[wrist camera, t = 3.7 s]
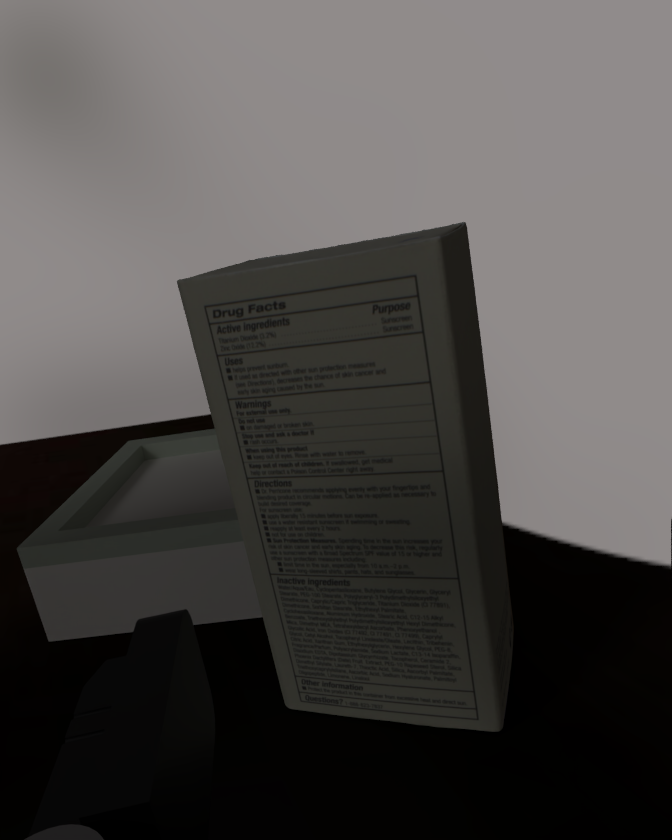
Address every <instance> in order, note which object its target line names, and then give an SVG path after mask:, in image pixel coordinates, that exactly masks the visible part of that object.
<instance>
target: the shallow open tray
mask: <svg viewBox="0 0 672 840" xmlns="http://www.w3.org/2000/svg"><path fill="white" fill-rule="evenodd" d="M17 551H18V554H19V557H20V560H21V562H22V565H23V568H24V571H25V574H26V577H27V580H28V583H29V586H30V589H31V591H32V594H33V597H34V600H35V603H36V606H37V609H38V612H39V615H40V618H41V620H42V623H43V626H44V629H45V632H46V635H47V638H48V641H49V642H50V641H59V640H68V639H76V638H85V637H94V636H102V635H111V634H120V633H128V632H133V631H134V628H135V625H136V622H137V620H138V619H141V618H146V617H151V616H155V615H160V614H165V613H170V612H174V611H179V610H184V609H187V610H188V612H189V614H190V616H191V619H192V622H193V625H198V624H207V623H215V622H224V621H233V620H241V619H250V618H259V617H263V616H262V612H261V608H260V605H259V601H258V597H257V593H256V588H255V585H254V582H253V577H252V573H251V569H250V565H249V560H248V556H247V553H246V549H245V545H244V541H243V538H242V534H241V530H240V526H239V521H238V517H237V514H236V510H235V506H234V502H233V498H232V494H231V490H230V487H229V483H228V479H227V475H226V470H225V467H224V463H223V460H222V456H221V452H220V447H219V443H218V439H217V435H216V431H215V429H210V430H203V431H196V432H189V433H182V434H175V435H168V436H161V437H154V438H147V439H140V440H133V441H128V442H127V443H126V444H125V445H124V446H123V447H122V448H121V449H120V450H119V451H118V452H117V453H116V454H115V455H114V456H113V457H111V458H110V459H109V460H108V461H107V462H106V463H105V464H104V465H103V466H102V467H101V468H100V469H99V470H98V471H97V472H96V473H95V474H94V475H93V476H92V477H91V478H90V479H89V480H87V481H86V482H85V483H84V484H83V485H82V486H81V487H80V488H79V489H78V490H77V491H76V492H75V493H74V494H73V495H72V496H71V497H70V498H69V499H68V500H67V501H66V502H65V503H64V504H62V505H61V506H60V507H59V508H58V509H57V510H56V511H55V512H54V513H53V514H52V515H51V516H50V517H49V518H48V519H47V520H46V521H45V522H44V523H43V524H42V525H41V526H40V527H38V528H37V529H36V530H35V531H34V532H33V533H32V534H31V535H30V536H29V537H28V538H27V539H26V540H25V541H24V542H23V543H22V544H21V545H20V546H19V547H18V548H17Z"/></svg>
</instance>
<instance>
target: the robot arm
mask: <svg viewBox="0 0 672 840" xmlns="http://www.w3.org/2000/svg"><path fill="white" fill-rule="evenodd" d="M671 558H672V520H671ZM671 560H672V559H671ZM671 583H672V561H671ZM73 715H74V720H71V722H70V725H69V727H68V730H67V733H66V736H65V744H62V746H61V749H60V752H59V755H58V757H57V760H56V763H55V766H54V768H53V771H52V774H51V776H50V779H49V782H48V785H47V787H46V790H45V793H44V795H43V798H42V801H41V804H40V806H39V809H38V812H37V814H36V817H35V820H34V823H33V825H32V828H31V831H30V834H29V836H28V838H26V839H24V840H208V829H209V814H210V800H211V785H212V771H213V757H214V742H215V716H214V707H213V700H212V695H211V690H210V686H209V682H208V679H207V675H206V671H205V667H204V663H203V660H202V656H201V652H200V648H199V644H198V641H197V637H196V633H195V629H194V626H193V622H192V619H191V616H190V614H189V612H188V610H187V609H184V610H179V611H174V612H170V613H165V614H160V615H155V616H151V617H146V618H141V619H138V620H137V622H136V625H135V628H134V631H133V635H132V638H131V642H130V645H129V648H128V652H127V655H126V656H122V657H117V658H113V659H108V660H106V661H105V662H104V663H103V664H102V665H101V667H100V668H99V669H98V670H97V671H96V672H95V674H94V675H93V676H92V677H91V678H90V679H89V681H88V682H87V683H86V684H85V685H84V687H83V689H82V692H81V695H80V698H79V700H78V703H77V706H76V708H75V711H74V714H73Z"/></svg>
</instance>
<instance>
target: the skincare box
mask: <svg viewBox="0 0 672 840" xmlns="http://www.w3.org/2000/svg"><path fill="white" fill-rule="evenodd" d="M177 284H178V288H179V291H180V295H181V299H182V303H183V306H184V310H185V314H186V318H187V322H188V326H189V329H190V334H191V338H192V342H193V346H194V350H195V353H196V357H197V360H198V364H199V368H200V372H201V376H202V380H203V384H204V387H205V392H206V396H207V400H208V404H209V408H210V412H211V415H212V419H213V423H214V427H215V431H216V435H217V439H218V443H219V447H220V452H221V456H222V460H223V463H224V467H225V470H226V475H227V479H228V483H229V487H230V490H231V494H232V498H233V502H234V506H235V510H236V514H237V517H238V521H239V526H240V530H241V534H242V538H243V541H244V545H245V549H246V553H247V556H248V560H249V565H250V569H251V573H252V577H253V582H254V585H255V588H256V593H257V597H258V601H259V605H260V608H261V612H262V616H263V620H264V624H265V627H266V631H267V635H268V639H269V643H270V647H271V651H272V655H273V659H274V663H275V667H276V671H277V674H278V678H279V682H280V686H281V690H282V694H283V698H284V702H285V705H286V706H287V707H288V708H290V709H295V710H303V711H311V712H318V713H326V714H333V715H340V716H348V717H357V718H366V719H375V720H386V721H394V722H402V723H409V724H416V725H425V726H433V727H444V728H460V729H471V730H481V731H491V732H498V731H500V730H501V729H502V728H503V724H504V716H505V710H506V703H507V695H508V688H509V680H510V670H511V662H512V651H513V634H514V625H513V616H512V608H511V599H510V591H509V581H508V573H507V564H506V555H505V546H504V537H503V529H502V520H501V511H500V501H499V493H498V482H497V475H496V466H495V458H494V448H493V440H492V431H491V423H490V415H489V406H488V397H487V387H486V379H485V373H484V363H483V354H482V346H481V337H480V329H479V321H478V313H477V305H476V296H475V288H474V280H473V273H472V265H471V257H470V249H469V241H468V234H467V226H466V223H465V222H462V223H458V224H452V225H449V226H445V227H439V228H434V229H429V230H422V231H418V232H412V233H406V234H400V235H396V236H391V237H385V238H378V239H373V240H366V241H361V242H357V243H351V244H344V245H338V246H335V247H328V248H322V249H315V250H309V251H304V252H299V253H293V254H287V255H276V256H272V257H265V258H259V259H255V260H249V261H246V262H243V263H240V264H236V265H232V266H228V267H225V268H221V269H217V270H214V271H210V272H207V273H204V274H200V275H197V276H194V277H190V278H186V279H182V280H178V281H177Z"/></svg>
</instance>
